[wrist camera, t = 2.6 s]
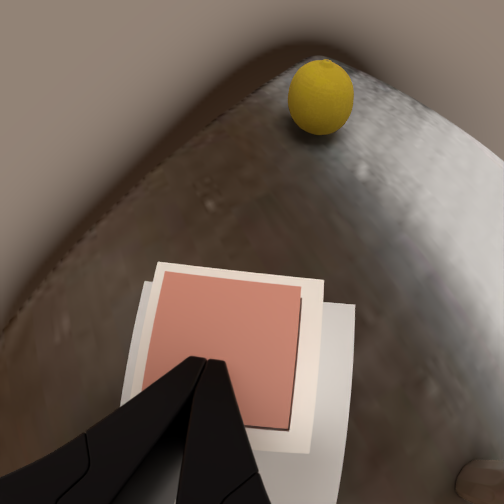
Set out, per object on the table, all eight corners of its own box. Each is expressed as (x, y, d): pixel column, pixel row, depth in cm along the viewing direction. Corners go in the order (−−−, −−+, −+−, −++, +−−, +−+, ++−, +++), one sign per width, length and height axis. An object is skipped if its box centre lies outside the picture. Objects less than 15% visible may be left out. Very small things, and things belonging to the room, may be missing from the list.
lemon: (355, 141, 27) (376, 72, 20) (308, 161, 26) (322, 85, 19) (318, 108, 29) (330, 41, 22) (273, 124, 28) (277, 51, 21)
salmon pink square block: (279, 420, 11) (287, 428, 8) (165, 404, 11) (139, 405, 8) (290, 311, 13) (301, 286, 10) (183, 298, 13) (165, 271, 10)
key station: (321, 555, 13) (356, 623, 5) (113, 523, 14) (47, 569, 6) (351, 308, 21) (406, 250, 13) (148, 285, 21) (94, 219, 13)
